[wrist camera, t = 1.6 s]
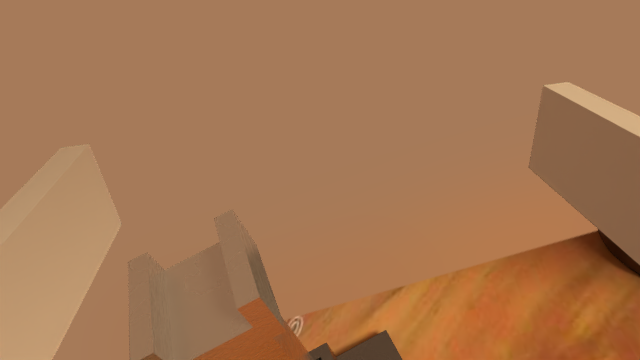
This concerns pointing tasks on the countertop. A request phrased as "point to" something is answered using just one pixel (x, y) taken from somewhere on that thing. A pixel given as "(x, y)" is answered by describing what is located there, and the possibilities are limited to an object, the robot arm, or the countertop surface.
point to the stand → (362, 350)
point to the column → (209, 305)
